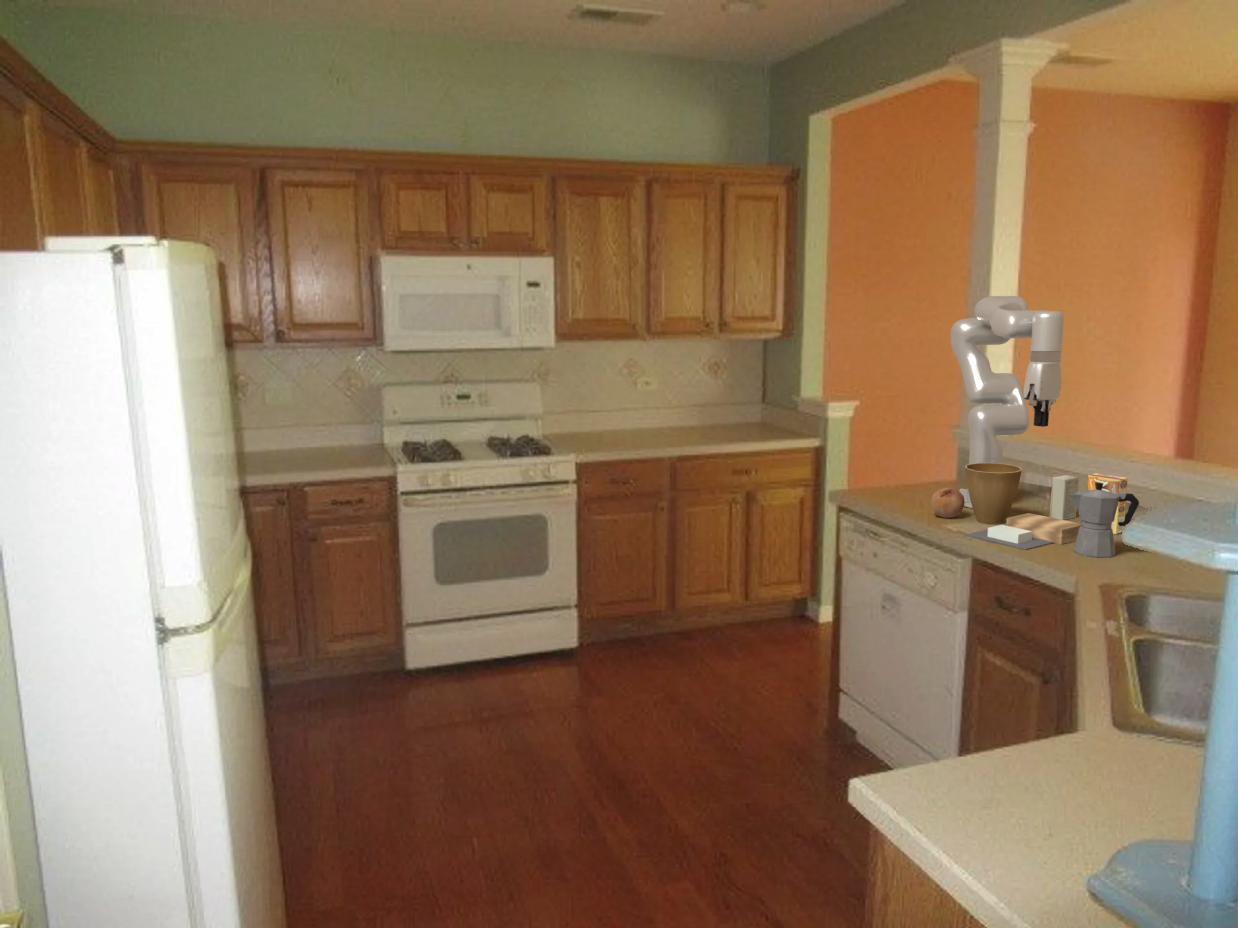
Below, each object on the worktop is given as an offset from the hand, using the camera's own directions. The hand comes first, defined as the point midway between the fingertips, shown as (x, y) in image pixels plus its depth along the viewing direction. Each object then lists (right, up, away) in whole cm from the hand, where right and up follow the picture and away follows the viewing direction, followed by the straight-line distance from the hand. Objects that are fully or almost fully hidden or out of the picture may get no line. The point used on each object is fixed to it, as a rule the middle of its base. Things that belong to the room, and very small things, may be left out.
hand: (1040, 425), depth 240 cm
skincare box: (+15, -26, +19) cm, 36 cm away
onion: (-17, -26, +22) cm, 38 cm away
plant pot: (-7, -27, +15) cm, 32 cm away
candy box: (+19, -29, +4) cm, 35 cm away
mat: (-10, -30, -4) cm, 32 cm away
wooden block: (+1, -30, -1) cm, 30 cm away
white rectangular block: (-10, -28, -5) cm, 30 cm away
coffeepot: (+6, -33, -18) cm, 38 cm away
